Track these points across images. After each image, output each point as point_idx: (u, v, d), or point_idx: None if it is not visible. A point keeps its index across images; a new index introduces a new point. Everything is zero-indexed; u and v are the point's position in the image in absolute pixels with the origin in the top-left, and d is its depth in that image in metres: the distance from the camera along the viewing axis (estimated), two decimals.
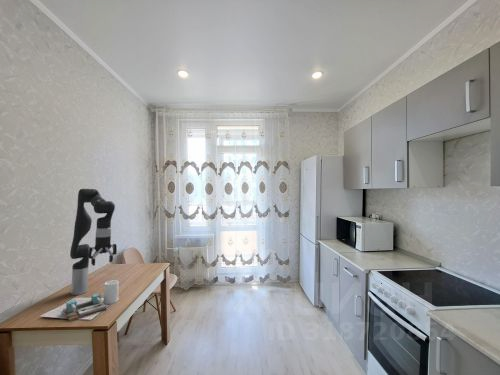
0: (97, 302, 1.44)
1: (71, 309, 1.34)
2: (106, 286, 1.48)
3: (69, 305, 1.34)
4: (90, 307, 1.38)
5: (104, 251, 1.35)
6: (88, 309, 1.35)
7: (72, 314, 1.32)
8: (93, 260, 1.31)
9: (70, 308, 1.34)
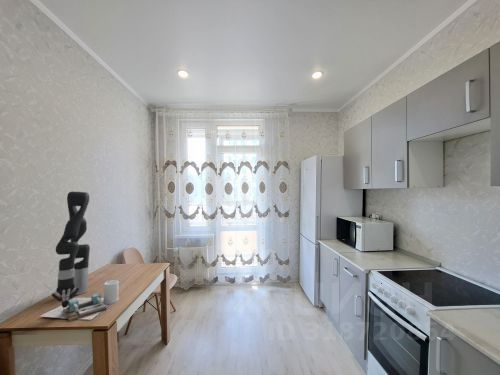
0: (97, 302, 1.44)
1: (73, 308, 1.35)
2: (106, 286, 1.48)
3: (71, 304, 1.34)
4: (90, 307, 1.38)
5: (64, 291, 1.33)
6: (88, 309, 1.35)
7: (72, 314, 1.32)
8: (63, 302, 1.33)
9: (72, 307, 1.34)
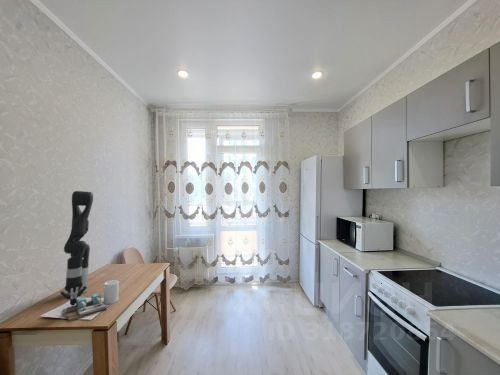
0: (97, 302, 1.44)
1: (81, 306, 1.38)
2: (106, 286, 1.48)
3: (79, 302, 1.37)
4: (90, 307, 1.38)
5: (73, 289, 1.36)
6: (88, 309, 1.35)
7: (72, 314, 1.32)
8: (71, 300, 1.36)
9: (80, 305, 1.37)
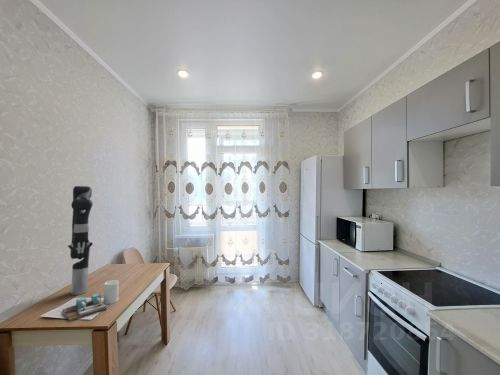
0: (97, 302, 1.44)
1: (81, 306, 1.38)
2: (106, 286, 1.48)
3: (79, 302, 1.37)
4: (90, 307, 1.38)
5: (80, 244, 1.43)
6: (88, 309, 1.35)
7: (72, 314, 1.32)
8: (78, 254, 1.43)
9: (80, 305, 1.37)
